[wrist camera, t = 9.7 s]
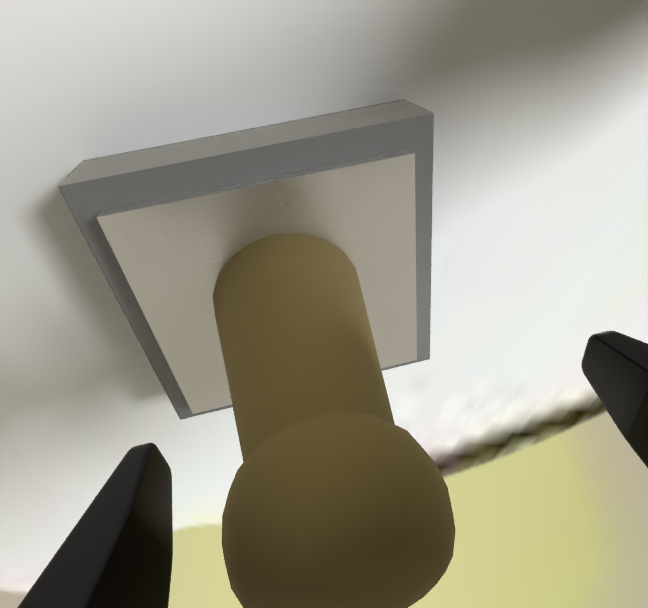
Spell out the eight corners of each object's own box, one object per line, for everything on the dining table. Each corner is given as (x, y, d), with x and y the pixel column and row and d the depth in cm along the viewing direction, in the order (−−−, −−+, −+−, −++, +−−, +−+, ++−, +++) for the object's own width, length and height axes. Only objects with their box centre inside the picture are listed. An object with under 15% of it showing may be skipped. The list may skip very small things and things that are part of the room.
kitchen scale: (404, 99, 17) (442, 117, 14) (409, 331, 25) (435, 376, 21) (83, 161, 16) (50, 194, 13) (187, 383, 24) (182, 438, 20)
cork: (316, 371, 20) (391, 666, 11) (189, 333, 17) (150, 678, 8) (388, 267, 17) (563, 539, 8) (251, 205, 15) (292, 501, 6)
